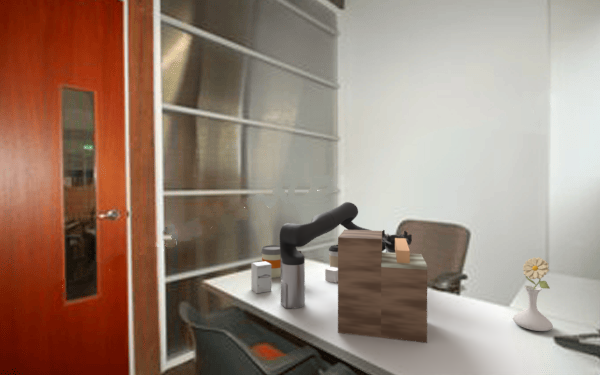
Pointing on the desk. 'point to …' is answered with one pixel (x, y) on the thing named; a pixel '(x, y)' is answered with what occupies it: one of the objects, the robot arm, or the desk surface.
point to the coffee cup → (333, 256)
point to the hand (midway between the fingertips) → (394, 232)
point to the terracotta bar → (402, 250)
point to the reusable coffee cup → (272, 259)
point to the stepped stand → (380, 289)
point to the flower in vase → (534, 297)
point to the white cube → (331, 274)
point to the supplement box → (261, 277)
